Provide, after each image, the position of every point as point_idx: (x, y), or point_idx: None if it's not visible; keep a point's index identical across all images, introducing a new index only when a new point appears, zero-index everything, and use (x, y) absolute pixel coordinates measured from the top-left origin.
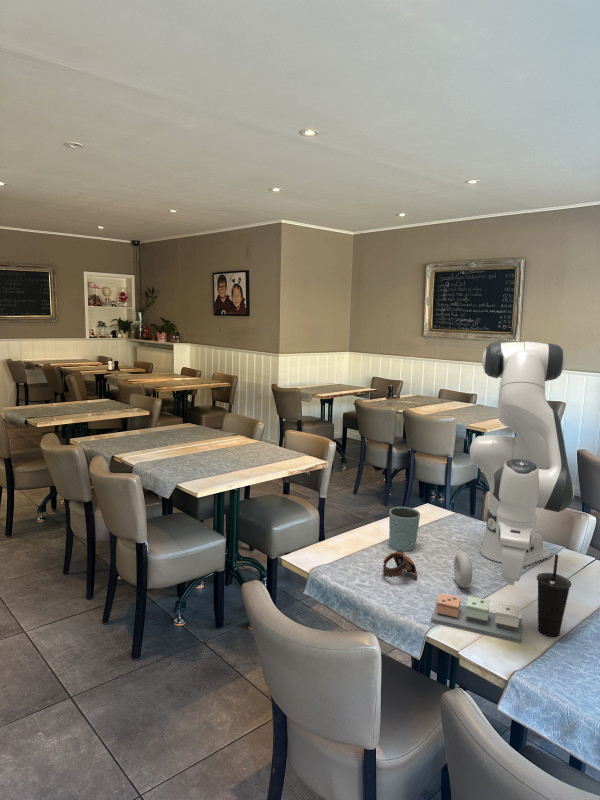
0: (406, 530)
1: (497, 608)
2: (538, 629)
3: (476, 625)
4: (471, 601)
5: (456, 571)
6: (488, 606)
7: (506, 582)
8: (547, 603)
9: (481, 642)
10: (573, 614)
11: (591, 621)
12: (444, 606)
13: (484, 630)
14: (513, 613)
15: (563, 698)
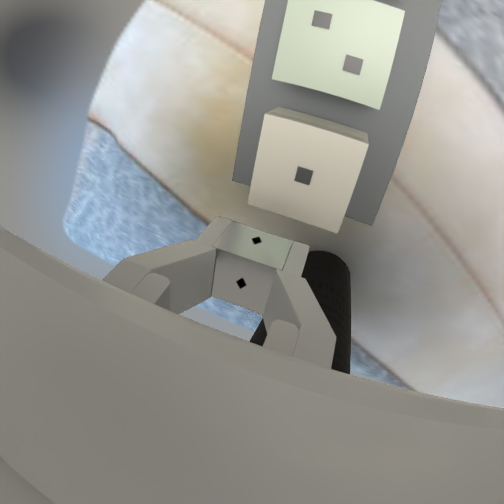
0: None
1: (299, 127)
2: (319, 253)
3: None
4: (343, 11)
5: None
6: (310, 86)
7: (216, 217)
8: (254, 335)
9: (206, 51)
10: (411, 360)
11: (378, 377)
12: None
13: (253, 63)
14: (269, 189)
15: (78, 209)
